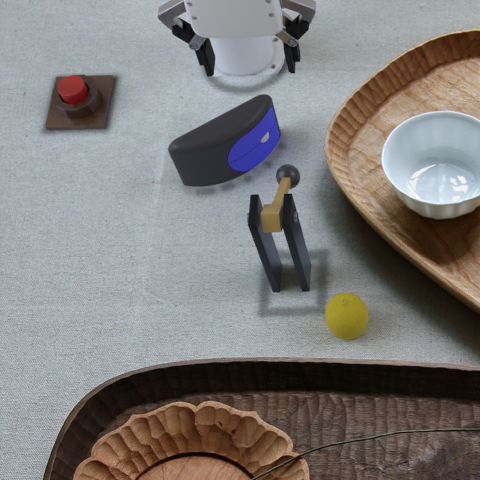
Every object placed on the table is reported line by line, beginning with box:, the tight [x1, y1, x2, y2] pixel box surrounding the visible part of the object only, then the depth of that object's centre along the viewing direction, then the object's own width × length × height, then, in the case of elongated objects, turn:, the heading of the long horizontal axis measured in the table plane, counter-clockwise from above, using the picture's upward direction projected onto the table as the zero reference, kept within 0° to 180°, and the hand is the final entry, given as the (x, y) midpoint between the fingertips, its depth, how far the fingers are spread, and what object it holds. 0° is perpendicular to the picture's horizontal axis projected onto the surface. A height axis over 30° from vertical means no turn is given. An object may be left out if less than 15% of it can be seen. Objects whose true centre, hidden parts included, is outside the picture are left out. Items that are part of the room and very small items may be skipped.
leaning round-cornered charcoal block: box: [167, 93, 282, 188], centre depth 114 cm, size 16×5×9 cm, turn 123°
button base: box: [44, 74, 115, 131], centre depth 124 cm, size 10×9×2 cm
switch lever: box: [261, 163, 301, 233], centre depth 102 cm, size 16×3×3 cm, turn 179°
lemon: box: [324, 291, 369, 341], centre depth 104 cm, size 6×6×8 cm
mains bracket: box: [246, 192, 312, 293], centre depth 103 cm, size 9×8×17 cm
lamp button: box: [58, 74, 88, 104], centre depth 122 cm, size 4×4×2 cm
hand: (252, 65), depth 96 cm, fingers open, 9 cm apart
